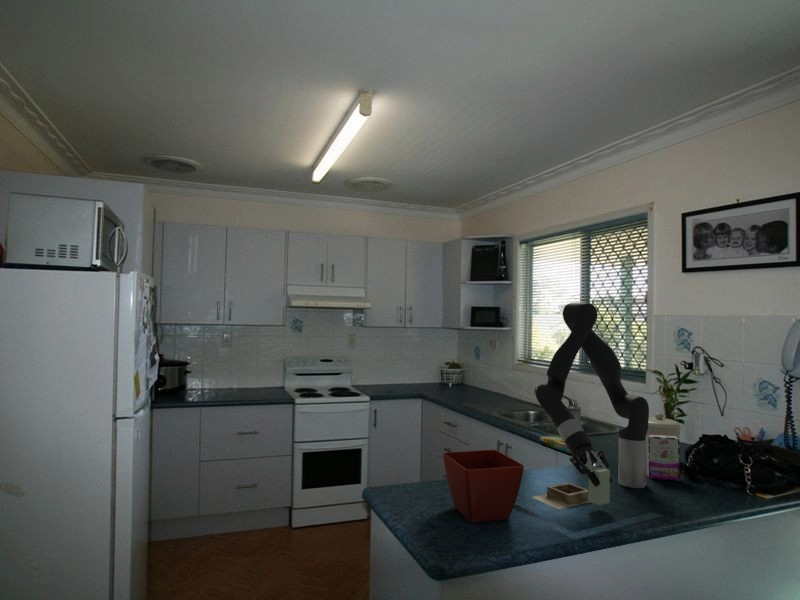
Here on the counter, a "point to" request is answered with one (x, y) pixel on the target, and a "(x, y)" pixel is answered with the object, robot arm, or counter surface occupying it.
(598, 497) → the sage block
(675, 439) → the candy bar box
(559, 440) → the puzzle game
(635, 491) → the counter surface
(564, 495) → the puzzle board
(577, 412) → the coffee box
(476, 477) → the plant pot
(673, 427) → the canister
